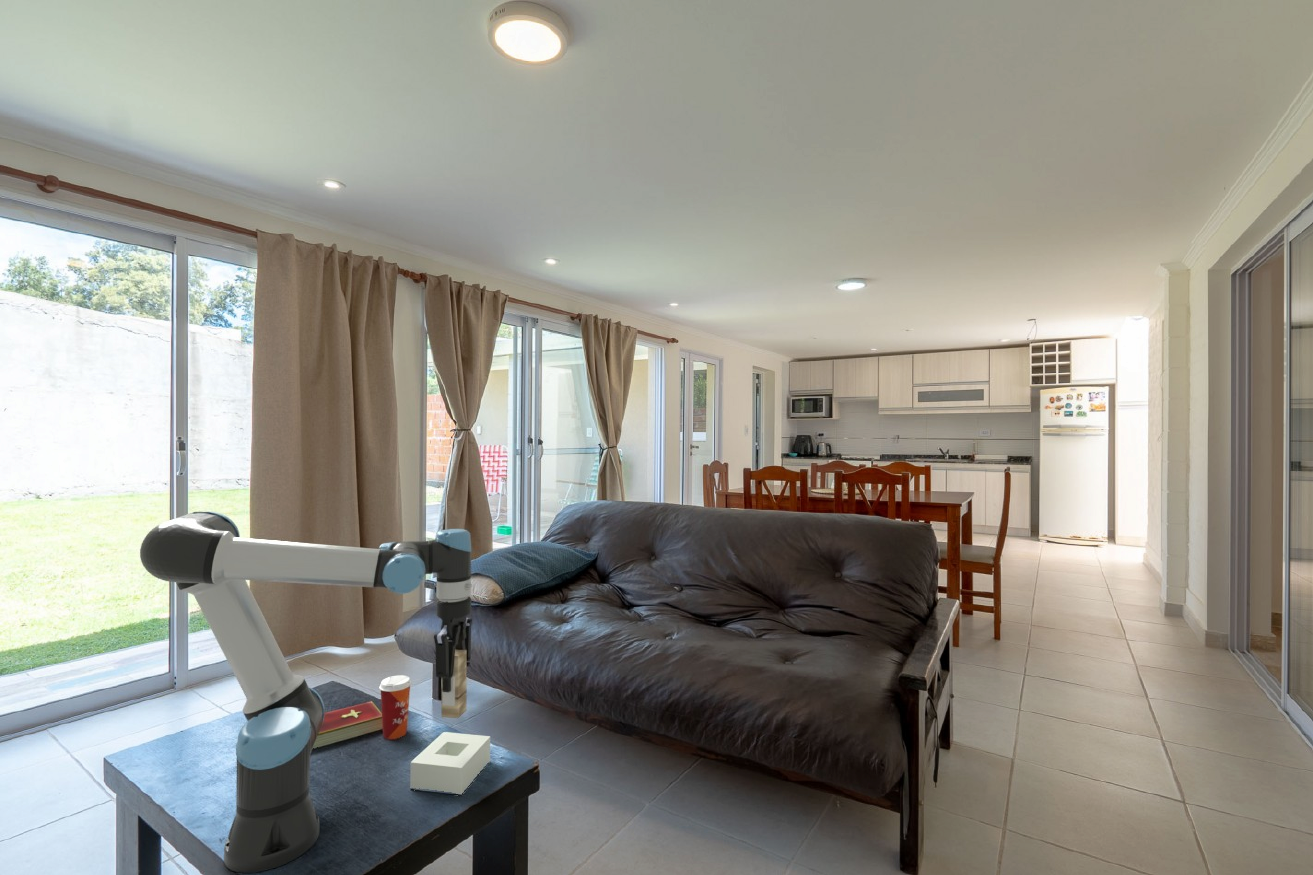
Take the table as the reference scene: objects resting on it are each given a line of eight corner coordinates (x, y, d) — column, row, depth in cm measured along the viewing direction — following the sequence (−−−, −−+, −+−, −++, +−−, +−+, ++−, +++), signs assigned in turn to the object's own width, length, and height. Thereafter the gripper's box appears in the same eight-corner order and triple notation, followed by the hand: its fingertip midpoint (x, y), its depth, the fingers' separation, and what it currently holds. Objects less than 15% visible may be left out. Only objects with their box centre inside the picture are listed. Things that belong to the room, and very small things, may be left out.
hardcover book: (283, 738, 155) (284, 721, 155) (371, 714, 168) (371, 699, 168) (292, 757, 145) (292, 739, 145) (384, 730, 159) (384, 714, 159)
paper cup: (403, 741, 152) (403, 686, 152) (373, 741, 152) (373, 685, 152) (416, 727, 160) (416, 674, 160) (387, 726, 160) (388, 673, 160)
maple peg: (458, 718, 135) (457, 656, 135) (441, 716, 136) (441, 654, 136) (466, 710, 139) (466, 649, 139) (450, 708, 140) (450, 648, 140)
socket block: (461, 795, 130) (461, 767, 130) (410, 789, 132) (410, 762, 132) (490, 761, 143) (490, 736, 143) (443, 756, 145) (443, 731, 145)
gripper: (450, 609, 129) (450, 718, 129) (486, 589, 145) (486, 685, 145) (417, 607, 130) (418, 715, 130) (457, 587, 147) (457, 683, 147)
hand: (454, 699), depth 138 cm, fingers closed on maple peg, 4 cm apart
